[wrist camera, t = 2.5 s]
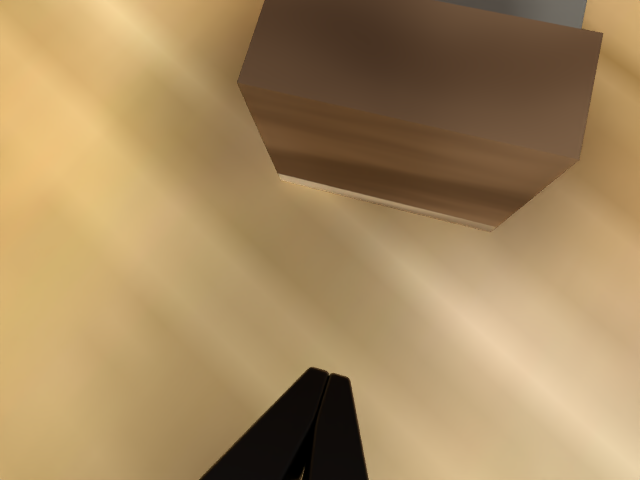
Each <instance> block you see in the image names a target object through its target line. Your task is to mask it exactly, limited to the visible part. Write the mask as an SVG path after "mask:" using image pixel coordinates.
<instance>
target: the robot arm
mask: <svg viewBox="0 0 640 480" xmlns="http://www.w3.org/2000/svg"><path fill="white" fill-rule="evenodd" d="M303 471H304V473H303ZM302 474H303V477H302ZM301 477H302V480H369V479H368V473H367V468H366V463H365V457H364V452H363V447H362V441H361V436H360V430H359V425H358V420H357V414H356V409H355V403H354V398H353V393H352V387H351V382H350V379H349V378H348V377H346V376H342V375H339V374H335V373H331V374H330V375H329V373H328V372H327V371H325V370H322V369H318V368H315V367H310V368H309V369H307V370H306V371H305V372H304V373H303V374H302V375H301V376H300V377H299V378H298V379H297V380H296V381H295V383H294V384H293V385H292V386H291V387H290V388H289V389H288V390H287V391H286V392H285V393H284V394H283V395H282V396H281V397H280V398H279V399H278V400H277V401H276V402H275V403H274V404H273V405H272V406H271V407H270V408H269V409H268V410H267V411H266V412H265V413H264V414H263V415H262V416H261V417H260V418H259V419H258V420H257V421H256V422H255V423H254V424H253V425H252V426H251V427H250V428H249V429H248V430H247V431H246V432H245V433H244V434H243V435H242V436H241V437H240V438H239V439H238V440H237V441H236V442H235V443H234V444H233V445H232V447H231V448H230V449H229V450H228V451H227V452H226V453H225V454H224V455H223V456H222V457H221V458H220V459H219V460H218V461H217V462H216V463H215V464H214V465H213V466H212V467H211V468H210V469H209V470H208V471H207V472H206V473H205V474H204V475H203V476H202V477H201V478H200V479H199V480H301Z"/></svg>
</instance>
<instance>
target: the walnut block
mask: <svg viewBox="0 0 640 480" xmlns="http://www.w3.org/2000/svg"><path fill="white" fill-rule="evenodd" d="M602 37H603V33H600V32H595V31H589V30H584V29H579V28H574V27H569V26H564V25H559V24H553V23H548V22H543V21H538V20H533V19H528V18H522V17H517V16H512V15H507V14H502V13H497V12H492V11H486V10H481V9H476V8H471V7H466V6H461V5H456V4H450V3H445V2H440V1H435V0H265V1H264V4H263V7H262V10H261V13H260V16H259V19H258V22H257V25H256V28H255V31H254V34H253V37H252V40H251V43H250V46H249V49H248V52H247V55H246V58H245V60H244V63H243V66H242V69H241V72H240V75H239V78H238V81H237V84H238V86H239V88H240V90H241V93H242V95H243V97H244V99H245V101H246V104H247V106H248V108H249V110H250V113H251V115H252V117H253V119H254V122H255V124H256V126H257V128H258V131H259V133H260V135H261V137H262V139H263V142H264V144H265V146H266V148H267V151H268V153H269V155H270V157H271V160H272V162H273V164H274V166H275V169H276V171H277V173H278V175H279V178H280V180H282V181H286V182H290V183H294V184H298V185H302V186H306V187H310V188H314V189H318V190H322V191H326V192H331V193H335V194H339V195H343V196H347V197H351V198H355V199H359V200H363V201H367V202H371V203H375V204H379V205H383V206H387V207H391V208H395V209H399V210H403V211H407V212H411V213H415V214H419V215H423V216H427V217H431V218H435V219H440V220H444V221H448V222H452V223H456V224H460V225H464V226H468V227H472V228H476V229H480V230H484V231H488V232H492V231H493V230H494V229H495V228H496V227H498V226H499V225H500V224H501V223H503V222H504V221H505V220H506V219H507V218H509V217H510V216H511V215H512V214H514V213H515V212H516V211H517V210H518V209H520V208H521V207H522V206H523V205H525V204H526V203H527V202H528V201H529V200H531V199H532V198H533V197H534V196H536V195H537V194H538V193H539V192H540V191H542V190H543V189H544V188H545V187H547V186H548V185H549V184H550V183H551V182H553V181H554V180H555V179H556V178H558V177H559V176H560V175H561V174H562V173H564V172H565V171H566V170H567V169H569V168H570V167H571V166H572V165H573V164H575V163H576V162H577V161H578V160H579V159H580V153H581V148H582V143H583V137H584V132H585V127H586V122H587V116H588V111H589V106H590V100H591V95H592V90H593V84H594V79H595V74H596V69H597V63H598V58H599V53H600V47H601V42H602Z"/></svg>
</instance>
